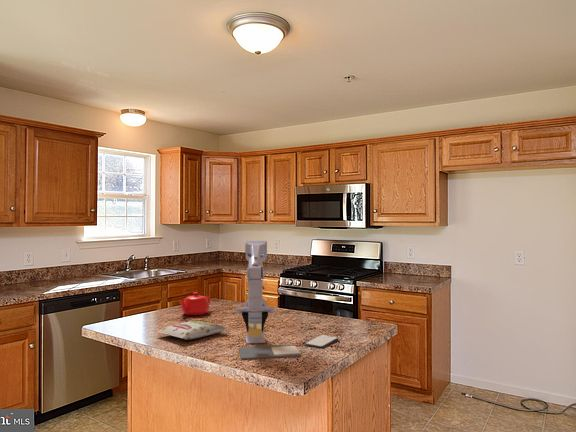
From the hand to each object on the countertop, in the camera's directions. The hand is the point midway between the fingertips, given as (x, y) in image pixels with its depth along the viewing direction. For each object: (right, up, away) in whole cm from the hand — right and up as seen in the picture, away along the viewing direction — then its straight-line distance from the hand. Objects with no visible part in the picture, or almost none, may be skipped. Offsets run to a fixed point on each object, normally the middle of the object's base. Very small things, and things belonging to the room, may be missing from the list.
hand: (254, 331), depth 166 cm
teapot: (-40, -10, +71) cm, 82 cm away
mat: (+5, -9, +1) cm, 10 cm away
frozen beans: (-30, -10, +26) cm, 41 cm away
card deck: (0, -1, 0) cm, 1 cm away
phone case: (+28, -10, +15) cm, 33 cm away
